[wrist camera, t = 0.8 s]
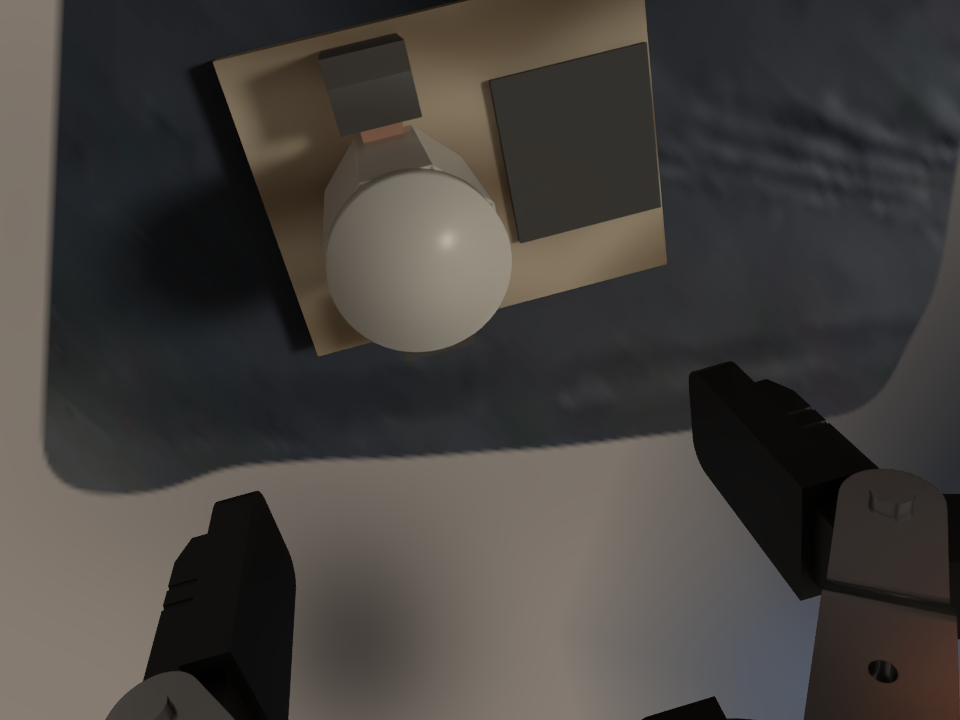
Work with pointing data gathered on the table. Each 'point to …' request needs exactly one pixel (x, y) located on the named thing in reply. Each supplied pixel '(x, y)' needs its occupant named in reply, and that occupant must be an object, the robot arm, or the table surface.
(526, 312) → the table surface
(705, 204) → the table surface
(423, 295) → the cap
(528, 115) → the mat
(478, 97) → the bulb mounting plate
